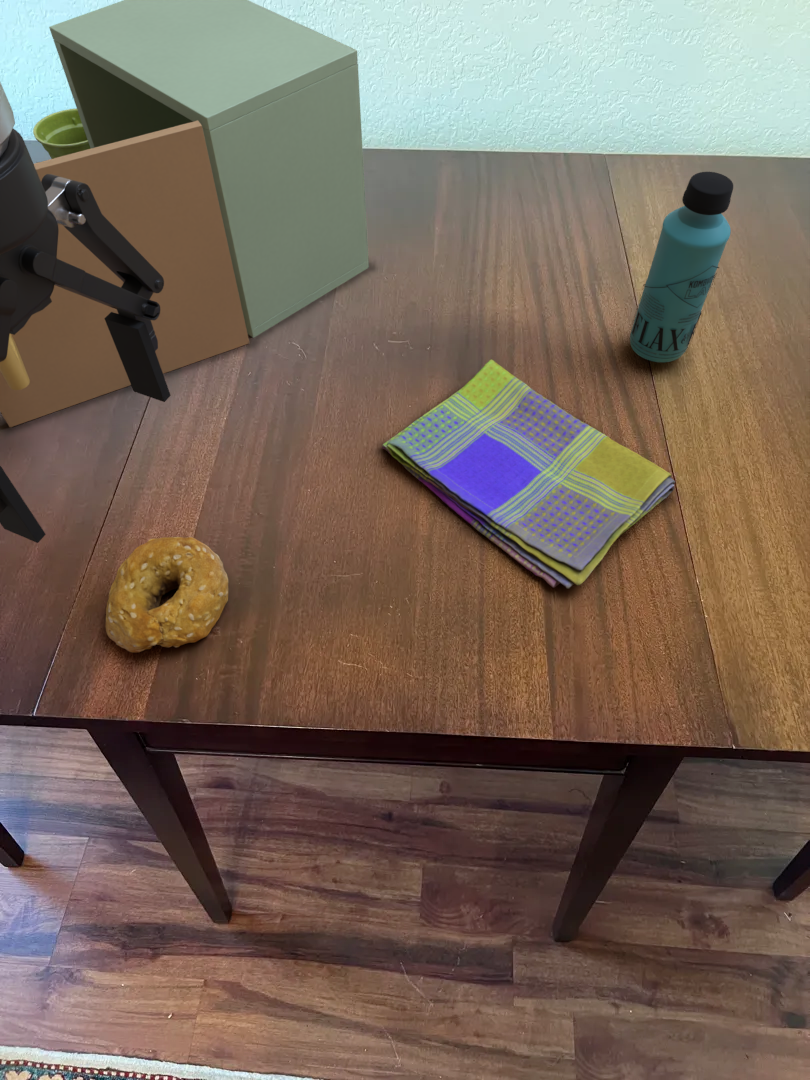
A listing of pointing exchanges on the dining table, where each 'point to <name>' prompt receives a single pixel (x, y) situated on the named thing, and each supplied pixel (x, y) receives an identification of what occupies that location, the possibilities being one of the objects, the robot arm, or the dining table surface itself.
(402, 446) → the dish towel
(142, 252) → the cupboard door
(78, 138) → the plant pot
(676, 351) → the beverage bottle
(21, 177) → the robot arm
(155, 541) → the bagel
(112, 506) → the dining table surface
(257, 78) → the cupboard
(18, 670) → the dining table surface
